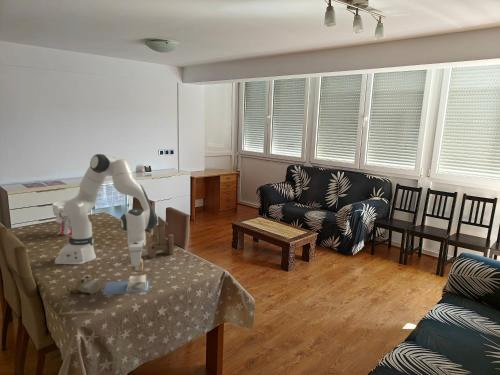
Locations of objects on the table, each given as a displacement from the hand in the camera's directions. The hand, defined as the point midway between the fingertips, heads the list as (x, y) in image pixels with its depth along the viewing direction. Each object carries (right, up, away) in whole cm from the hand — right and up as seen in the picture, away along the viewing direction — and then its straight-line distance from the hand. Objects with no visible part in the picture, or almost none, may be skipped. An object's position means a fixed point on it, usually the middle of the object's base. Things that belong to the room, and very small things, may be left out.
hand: (137, 267), depth 181 cm
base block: (0, -10, +2) cm, 10 cm away
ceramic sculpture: (-24, -12, -4) cm, 27 cm away
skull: (-76, +6, +80) cm, 110 cm away
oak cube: (0, -1, 0) cm, 1 cm away
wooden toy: (0, -3, +48) cm, 48 cm away
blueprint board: (-5, -11, +1) cm, 12 cm away
